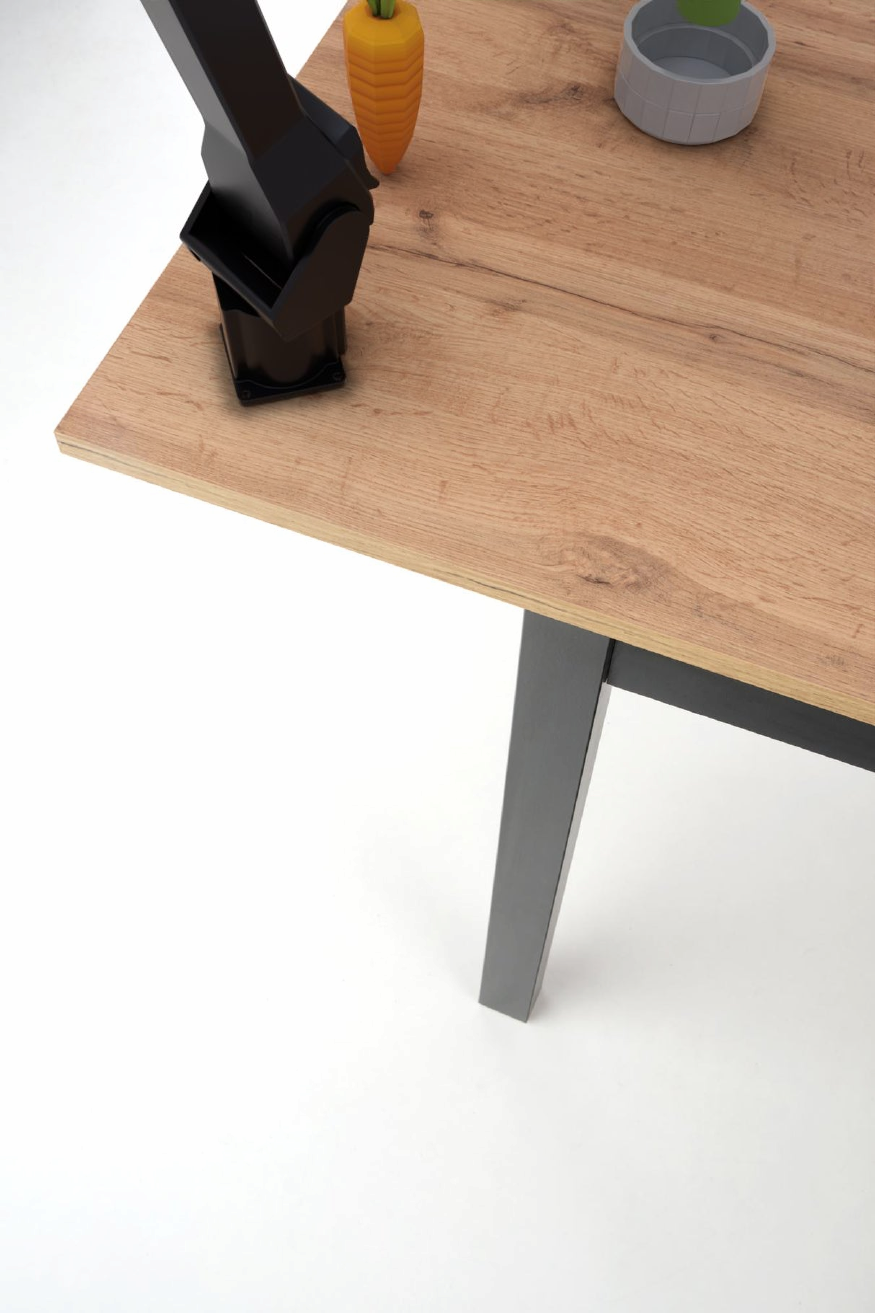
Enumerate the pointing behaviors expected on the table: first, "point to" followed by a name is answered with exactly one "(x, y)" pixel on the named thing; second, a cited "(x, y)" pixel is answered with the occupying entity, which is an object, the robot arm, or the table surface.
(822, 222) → the table surface
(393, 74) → the carrot
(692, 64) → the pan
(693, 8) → the green cylinder
